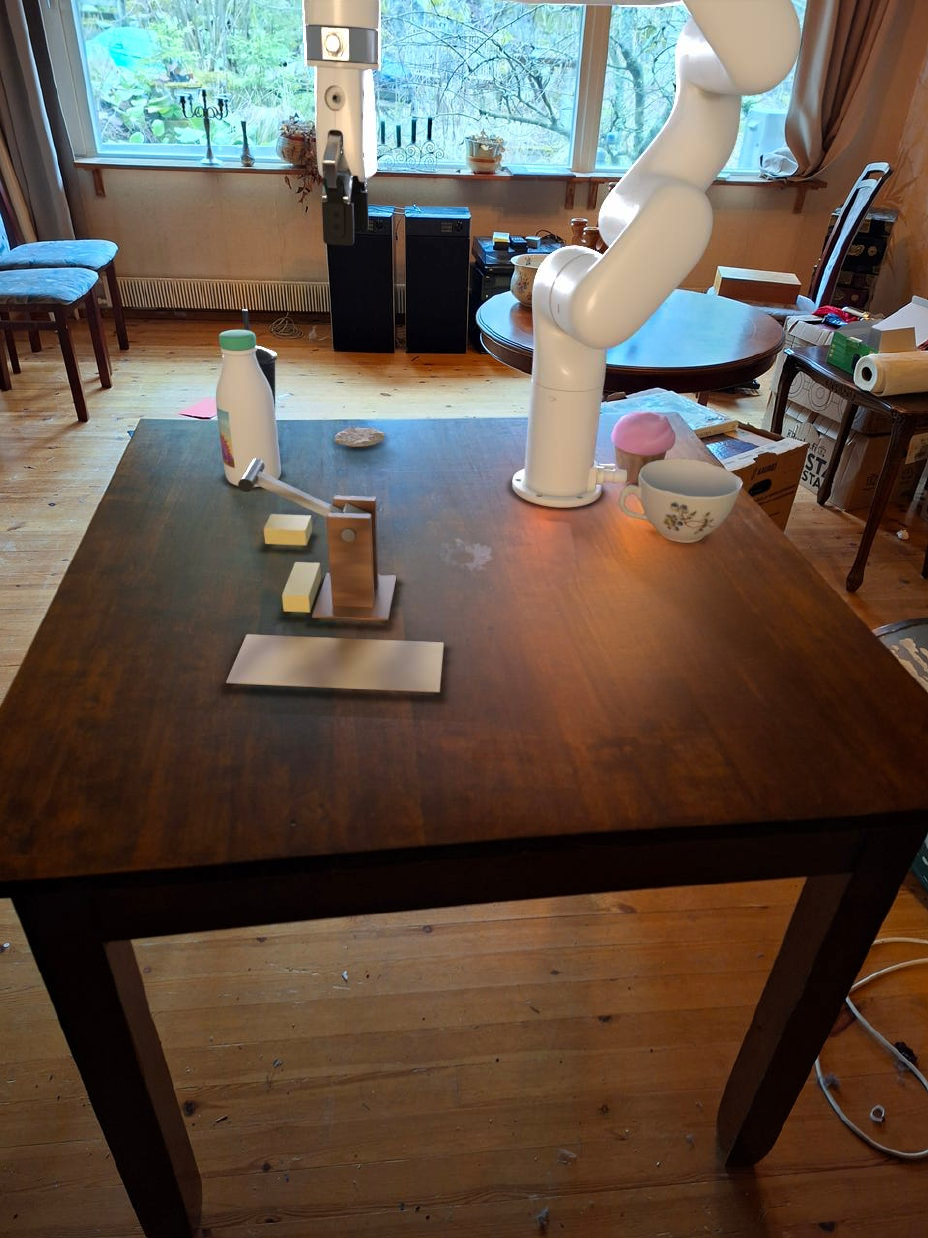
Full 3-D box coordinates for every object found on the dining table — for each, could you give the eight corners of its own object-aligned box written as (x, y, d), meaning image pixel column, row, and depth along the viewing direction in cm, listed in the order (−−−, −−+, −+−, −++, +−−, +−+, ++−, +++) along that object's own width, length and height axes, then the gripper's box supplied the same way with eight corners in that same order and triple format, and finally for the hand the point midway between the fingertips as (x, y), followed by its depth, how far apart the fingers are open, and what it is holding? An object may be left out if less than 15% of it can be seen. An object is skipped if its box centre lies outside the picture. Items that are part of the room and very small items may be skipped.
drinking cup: (294, 441, 130) (283, 307, 119) (265, 457, 124) (250, 319, 113) (254, 432, 132) (239, 300, 121) (223, 448, 126) (205, 311, 115)
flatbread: (364, 427, 135) (364, 421, 134) (394, 440, 130) (394, 434, 130) (323, 439, 130) (323, 433, 129) (354, 454, 126) (353, 447, 125)
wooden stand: (312, 625, 87) (304, 525, 81) (326, 581, 95) (320, 486, 88) (388, 628, 87) (386, 528, 81) (396, 584, 95) (395, 489, 88)
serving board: (443, 650, 84) (444, 642, 84) (439, 700, 78) (439, 691, 77) (247, 642, 85) (246, 634, 84) (226, 691, 78) (225, 682, 77)
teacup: (709, 510, 113) (721, 455, 109) (744, 555, 103) (759, 496, 99) (601, 512, 112) (609, 456, 107) (626, 558, 102) (636, 498, 97)
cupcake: (679, 485, 120) (691, 418, 114) (629, 495, 117) (640, 427, 111) (642, 462, 127) (652, 398, 121) (594, 471, 123) (602, 405, 118)
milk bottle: (288, 468, 121) (274, 327, 110) (272, 490, 114) (257, 343, 103) (236, 464, 121) (218, 323, 110) (218, 486, 115) (196, 339, 104)
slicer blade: (234, 492, 81) (242, 472, 80) (247, 471, 86) (254, 452, 84) (356, 548, 84) (366, 530, 83) (363, 526, 89) (372, 508, 87)
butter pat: (313, 536, 104) (311, 515, 102) (307, 552, 100) (305, 530, 99) (273, 535, 104) (270, 513, 102) (265, 550, 100) (263, 528, 99)
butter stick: (321, 585, 94) (320, 562, 92) (310, 619, 88) (308, 596, 87) (297, 584, 94) (295, 561, 92) (284, 618, 88) (281, 594, 87)
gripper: (366, 51, 76) (368, 253, 85) (391, 55, 90) (391, 227, 100) (284, 46, 76) (295, 248, 85) (323, 51, 90) (329, 223, 100)
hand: (347, 236), depth 92 cm, fingers open, 9 cm apart
